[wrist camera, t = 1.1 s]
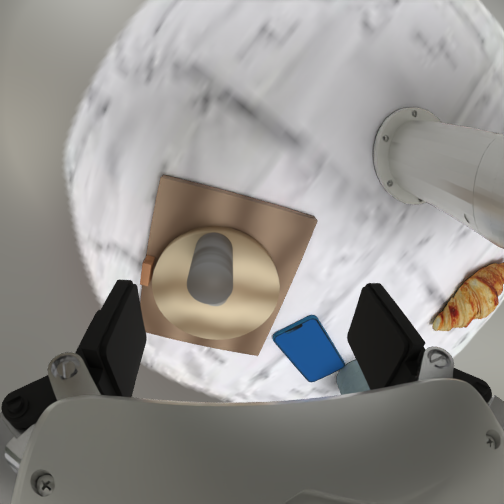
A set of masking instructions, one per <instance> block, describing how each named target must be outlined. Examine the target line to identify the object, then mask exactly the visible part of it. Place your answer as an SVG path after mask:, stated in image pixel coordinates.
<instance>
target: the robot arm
mask: <svg viewBox="0 0 504 504" xmlns="http://www.w3.org/2000/svg"><path fill="white" fill-rule="evenodd" d="M383 137H384V139H383ZM374 165H375V170H376V173H377V176H378V178H379V181H380V183H381V184H382V186H383V187H384V189H385V190H386V191H387V192H388V193H389V194H390V195H391V196H392V197H394V198H395V199H397V200H399V201H401V202H403V203H406V204H410V205H419V204H422V203H426V202H427V203H429V204H431V205H433V206H434V207H436V208H438V209H439V210H441V211H443V212H445V213H446V214H448V215H450V216H451V217H453V218H455V219H456V220H458V221H459V222H461V223H463V224H464V225H466V226H467V227H469V228H470V229H472V230H474V231H475V232H477V233H478V234H480V235H481V236H483V237H484V238H486V239H487V240H489V241H490V242H492V243H493V244H495V245H497V246H498V247H501V248H503V249H504V135H503V134H499V133H494V132H490V131H485V130H481V129H476V128H470V127H465V126H459V125H453V124H447V123H442V122H441V121H440V120H439V119H438V118H437V117H436V116H435V115H434V114H433V113H431V112H429V111H427V110H425V109H421V108H415V107H409V108H403V109H400V110H397V111H395V112H394V113H392V114H391V115H390V116H389V117H388V118H387V119H386V120H385V121H384V122H383V124H382V126H381V127H380V129H379V131H378V134H377V136H376V140H375V145H374ZM387 182H388V183H387ZM347 339H348V343H349V345H350V347H351V349H352V351H353V353H354V355H355V358H356V360H357V362H358V364H359V366H360V368H361V370H362V373H363V375H364V377H365V379H366V381H367V384H368V386H369V388H370V390H369V391H363V392H357V393H350V394H344V395H336V396H329V397H320V398H311V399H301V400H289V401H273V402H248V403H206V402H205V403H204V402H183V401H167V400H154V399H143V398H133V397H132V393H133V389H134V385H135V381H136V377H137V373H138V370H139V366H140V362H141V359H142V355H143V351H144V348H145V344H146V331H145V326H144V321H143V316H142V311H141V306H140V300H139V294H138V288H137V285H136V284H133V282H132V281H131V280H117V282H116V284H115V285H114V287H113V289H112V291H111V292H110V294H109V296H108V298H107V299H106V301H105V303H104V305H103V307H102V308H101V310H98V311H97V313H96V314H95V316H94V318H93V320H92V322H91V323H90V325H89V327H88V329H87V331H86V333H85V335H84V337H83V339H82V341H81V343H80V345H79V347H78V349H77V351H76V353H72V352H65V353H61V354H59V355H57V356H55V357H54V358H53V359H52V360H51V361H50V363H49V365H48V369H47V371H48V375H47V376H45V377H43V378H41V379H39V380H37V381H34V382H32V383H30V384H28V385H26V386H24V387H22V388H20V389H17V390H15V391H13V392H11V393H9V394H8V395H7V396H6V397H5V399H4V401H3V402H2V412H1V413H0V504H504V401H502V400H501V399H500V398H498V397H497V396H495V395H494V397H492V392H491V389H490V387H489V386H488V384H487V383H486V382H485V381H483V380H481V379H479V378H476V377H474V376H472V375H470V374H467V373H465V372H462V371H460V370H458V369H455V368H454V362H453V358H452V356H451V355H450V354H449V353H448V352H447V351H446V350H444V349H442V348H440V347H429V348H427V349H426V350H425V348H424V345H425V342H424V340H423V339H422V337H421V336H420V335H419V333H418V332H417V331H416V329H415V328H414V326H413V325H412V324H411V322H410V321H409V320H408V318H407V317H406V316H405V314H404V313H403V312H402V310H401V309H400V308H399V307H398V305H397V304H396V303H395V301H394V300H393V299H392V298H391V296H390V295H389V294H388V292H387V291H386V290H385V289H384V287H383V286H382V285H381V284H380V283H368V284H367V285H366V286H365V287H363V288H362V291H361V294H360V297H359V301H358V304H357V307H356V310H355V313H354V316H353V320H352V323H351V326H350V329H349V332H348V335H347Z"/></svg>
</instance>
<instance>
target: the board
mask: <svg viewBox="0 0 504 504" xmlns="http://www.w3.org/2000/svg"><path fill="white" fill-rule="evenodd" d="M317 221H318V220H317V219H316V218H315V217H314V216H312V215H308V214H305V213H302V212H299V211H295V210H292V209H289V208H286V207H282V206H279V205H276V204H272V203H269V202H265V201H262V200H258V199H255V198H251V197H248V196H244V195H241V194H237V193H233V192H230V191H226V190H222V189H218V188H215V187H211V186H207V185H203V184H199V183H195V182H191V181H187V180H183V179H179V178H175V177H171V176H167V175H163V176H162V177H161V178H160V182H159V187H158V192H157V197H156V202H155V207H154V212H153V217H152V223H151V229H150V235H149V241H148V247H147V254H146V258H145V260H144V261H143V265H142V272H141V281H140V284H141V285H142V292H141V301H140V306H141V311H142V316H143V321H144V326H145V331H146V332H147V333H151V334H154V335H158V336H162V337H166V338H171V339H175V340H179V341H183V342H188V343H192V344H197V345H202V346H206V347H211V348H216V349H221V350H227V351H232V352H238V353H243V354H249V355H256V356H258V355H259V353H260V351H261V349H262V346H263V344H264V342H265V340H266V338H267V336H268V334H269V332H270V329H271V327H272V325H273V323H274V321H275V319H276V316H277V314H278V312H279V310H280V308H281V305H282V303H283V301H284V299H285V296H286V294H287V292H288V290H289V287H290V285H291V283H292V281H293V278H294V276H295V274H296V271H297V269H298V267H299V264H300V262H301V260H302V257H303V255H304V253H305V250H306V248H307V245H308V243H309V241H310V238H311V236H312V233H313V231H314V228H315V226H316V224H317ZM209 226H219V227H227V228H232V229H235V230H238V231H241V232H243V233H245V234H248V235H249V236H251V237H253V238H254V239H256V240H257V241H258V242H259V243H260V244H261V245H263V247H264V248H265V249H266V250H267V251H268V253H269V254H270V256H271V257H272V259H273V262H274V264H275V267H276V270H277V274H278V278H279V284H280V291H279V298H278V301H277V304H276V307H275V309H274V311H273V312H272V314H271V315H270V316H269V318H268V319H267V320H266V321H265V322H264V323H263V324H262V325H260V326H259V327H258V328H256V329H255V330H253V331H251V332H249V333H247V334H245V335H242V336H239V337H235V338H231V339H222V340H214V339H205V338H200V337H197V336H193V335H191V334H188V333H186V332H184V331H182V330H180V329H179V328H177V327H176V326H174V325H173V324H172V323H171V322H170V321H169V320H168V319H167V318H166V317H165V316H164V315H163V314H162V312H161V311H160V309H159V308H158V306H157V304H156V301H155V299H154V295H153V291H152V277H153V273H154V269H155V267H156V264H157V262H158V260H159V258H160V256H161V254H162V252H163V251H164V249H165V248H166V247H167V246H168V245H169V244H170V243H171V242H172V241H173V240H174V239H175V238H177V237H178V236H180V235H181V234H184V233H186V232H188V231H190V230H193V229H196V228H201V227H209Z"/></svg>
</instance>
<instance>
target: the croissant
mask: <svg viewBox="0 0 504 504" xmlns="http://www.w3.org/2000/svg"><path fill="white" fill-rule="evenodd" d="M503 284H504V262H503V263H500V264H496V263H494V264H491V265H488V266H487V267H485V268H482V269H480V270H478V271H477V272H476V273H475V274H474V275H473V276H471V277H470V278H469V279H467V280H466V281H465V282H464V283H463V284H462V286H461V287H460V288H459V289H458V291H457V292H456V294H455V296H454V297H452V298H451V299H450V300H449V302H448V304H447V306H446V307H445V308H444V311H442V312H441V313H439V314H438V316H437V317H436V319H435V320H434V322H433V326H432V327H433V329H434V330H435V331H437V330H439V331H450V330H451V329H452V328H457V327H459V328H462V327H465V328H466V327H467V326H468V325H469V324H470V323H471V321H472V320H473V319H477V318H478V319H482V318H485V317H487V316H488V315H489V314H490V313H491V312H492V311H494V309H495V308H496V306H497V305H498V303H499V302H498V296H499V295H500V294H501V293H502V291H503Z"/></svg>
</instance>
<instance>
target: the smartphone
mask: <svg viewBox="0 0 504 504" xmlns="http://www.w3.org/2000/svg"><path fill="white" fill-rule="evenodd" d="M273 341H274V342H275V344H276V345H277V346H278V347H279V348H280V349H281V351H282V352H283V353H284V354H285V355H286V356H287V358H288V359H289V360H290V361H291V362H292V363H293V365H294V366H295V367H296V368H297V369H298V370H299V371H300V373H301V374H302V375H303V376H304V377H305V378H306V379H307V381H309V382H315V381H317V380H319V379H321V378H324V377H326V376H328V375H330V374H332V373H334V372H336V371H338V370H340V369H342V368H344V367H345V362H344V361H343V359H342V357H341V356H340V354H339V352H338V351H337V349H336V347H335V346H334V344H333V342H332V341H331V339H330V337H329V336H328V334H327V332H326V331H325V329H324V328H323V326H322V324H321V323H320V321H319V320H318V318H317V317H316V316H315V315H310V316H307V317H305V318H303V319H301V320H300V321H298V322H296V323H294V324H292V325H290V326H288V327H286V328H284V329H282V330H280V331H277V332H276V333H274V334H273Z"/></svg>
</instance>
